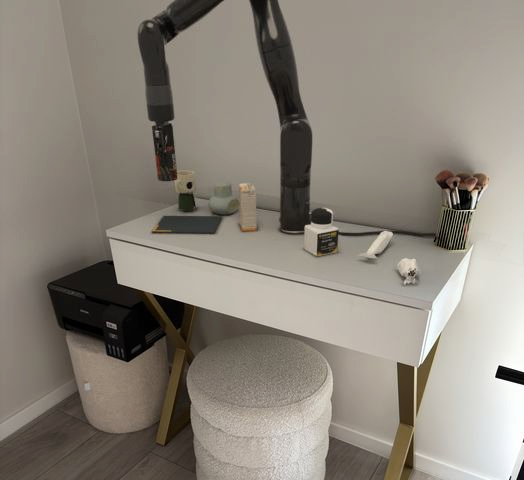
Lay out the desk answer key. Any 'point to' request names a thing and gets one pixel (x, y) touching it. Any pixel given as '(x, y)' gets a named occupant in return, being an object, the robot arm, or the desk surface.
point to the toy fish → (378, 245)
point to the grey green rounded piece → (223, 199)
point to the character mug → (185, 190)
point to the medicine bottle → (321, 233)
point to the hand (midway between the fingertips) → (166, 163)
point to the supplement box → (247, 206)
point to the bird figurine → (408, 269)
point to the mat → (188, 224)
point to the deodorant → (170, 170)
